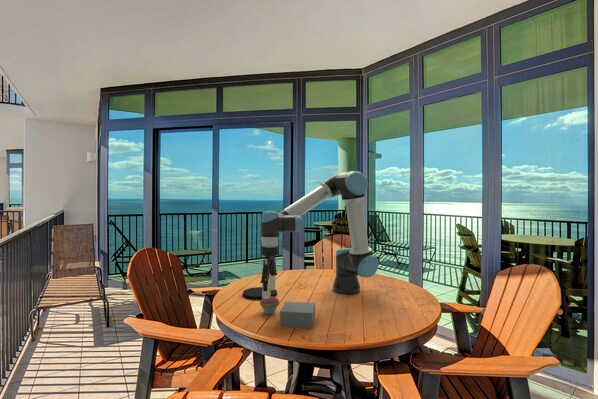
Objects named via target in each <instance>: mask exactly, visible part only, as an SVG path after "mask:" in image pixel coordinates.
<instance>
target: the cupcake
mask: <svg viewBox="0 0 598 399" xmlns="http://www.w3.org/2000/svg"><path fill="white" fill-rule="evenodd" d="M259 301H260V302H259V305H260V306H261V308H262V310H263V313H264V314H266V315H273V314H275V313H276V309H277V306H279V305H280V300H279V299H278V298H277V296H276V297H273V296H271V286H269V299H265V298H263V299H261V300H259Z"/></svg>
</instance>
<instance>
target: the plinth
mask: <svg viewBox="0 0 598 399" xmlns="http://www.w3.org/2000/svg"><path fill="white" fill-rule="evenodd" d="M315 320H316V302H306V301H286V300H285V302H284V303H283V305H282V307H281V309H280V311H279V327H282V328H299V329H304V328H305V329H313V327H314V324H315Z"/></svg>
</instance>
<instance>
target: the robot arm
mask: <svg viewBox="0 0 598 399" xmlns="http://www.w3.org/2000/svg"><path fill="white" fill-rule="evenodd" d="M368 188H369V182H368V178H367V177H366V175H365V174H363V173H362V172H360V171H354V170H352V171H344V172H338V173H335V174H333V175H332V176H330V177H328V178H327V179H325V180H324V181H322V182H321V183H319V186H318V187H316V188H314V189H313V190H312V191H310V192H309V193H307V194H306V195H304V196H303V197H301V198H300V199H298V200H296V201H295V202H294V203H292V204H290V205H289V206H287V207H286V208H284V209H282V210H280V211H272V210H270V211H269V210H265V211H263V212H262V214H261V237H260V238H259V240H260V241H261V243H260V244H261V248H260V254H261V255H262V256H265V259H263V261H262V270H261V271H262V272H261V279H260V281H259V282H260V284H261V285H262V298H265V299H269V286H271V290H275V289H276V276H278V271H277V262H276V256H278V255H279V233H299V232H301V231H303V228H304V218H303V217H302V216H304V215H305V214H307V213H308V212H310V211H311V210H312V209H314V208H315V207H317V206H318V205H320V204H322V203H323V202H324V201H326V200H330V199H331V200H332V198H333V197H336V196H341V200H342V201H343V202H344V203H345V209H346V215H347V216H346V217H347V224H348V232H349V238H350V245H351V247H347V248H339V249H337V250H336V252H335V277H334V281H333V284H332V291H334V292H335V293H339V294H342V295H343V294H344V295H345V294H346V295H347V294H349V295H350V294H351V295H352V294H357V293H358V294H359V293H360V292H361V284H360V280H359V278H358V276H359V277H361V278H368V279H369V278H371V277H373V276H375V274H376V272H377V271H378V269H379V259H378V258H377V257H376V256H375V255H374V253H373V248H371V247H370V246H369V240H368V239H369V238H368V233H367V231H368V230H367V226H366V217H365V210H364V203H363V200H364V199H365V197H366V194H365V193H367V189H368Z"/></svg>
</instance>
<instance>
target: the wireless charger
mask: <svg viewBox="0 0 598 399" xmlns="http://www.w3.org/2000/svg"><path fill="white" fill-rule="evenodd" d="M277 295H278V290H277V289H276V288H275V290H271V296H273V297H275V296H276V297H277ZM242 297H243V298H245V299H247V300H251V301H252V300H253V301H260V300H261V299H263V298H262V287H261V286H257V287H256V286H255V287H249V288H247V289H244V290H243V291H242Z"/></svg>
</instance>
